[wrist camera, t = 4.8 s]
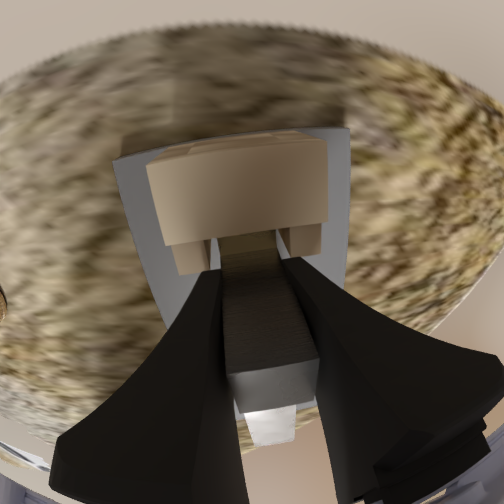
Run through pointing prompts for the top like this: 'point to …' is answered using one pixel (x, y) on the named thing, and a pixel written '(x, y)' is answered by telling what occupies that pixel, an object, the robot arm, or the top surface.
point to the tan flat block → (263, 327)
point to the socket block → (240, 193)
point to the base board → (162, 259)
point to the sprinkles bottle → (2, 307)
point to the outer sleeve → (272, 425)
